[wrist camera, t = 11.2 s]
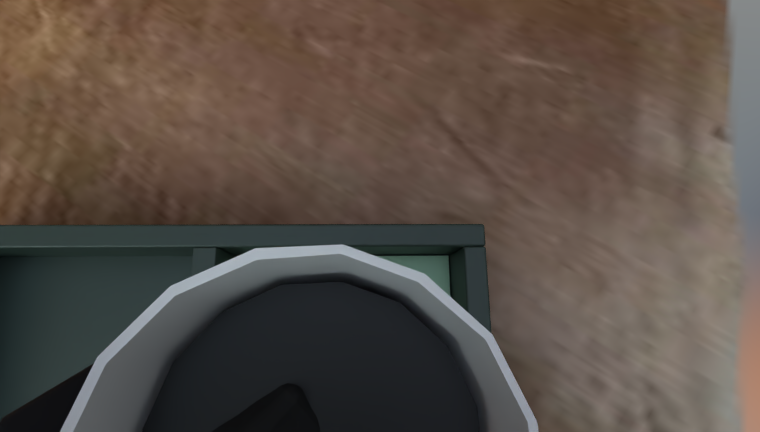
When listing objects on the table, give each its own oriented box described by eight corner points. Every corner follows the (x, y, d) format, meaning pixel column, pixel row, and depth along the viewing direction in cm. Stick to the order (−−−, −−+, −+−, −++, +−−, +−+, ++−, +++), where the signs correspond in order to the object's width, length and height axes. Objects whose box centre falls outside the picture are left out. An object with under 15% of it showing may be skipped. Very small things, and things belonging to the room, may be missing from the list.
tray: (478, 504, 15) (507, 553, 12) (-65, 522, 14) (-176, 578, 11) (464, 237, 17) (484, 223, 14) (-8, 239, 16) (-89, 224, 13)
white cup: (317, 517, 14) (213, 1003, 4) (214, 355, 15) (-59, 441, 5) (464, 392, 15) (654, 544, 5) (359, 250, 16) (357, 159, 6)
